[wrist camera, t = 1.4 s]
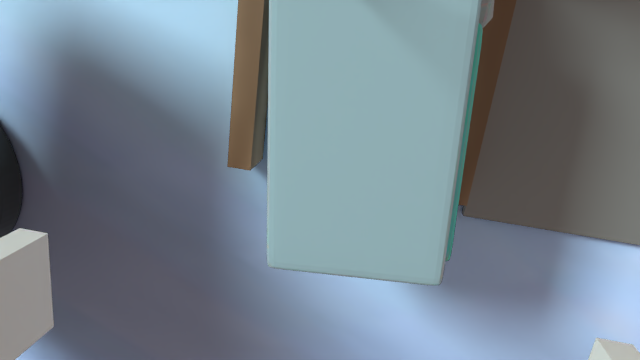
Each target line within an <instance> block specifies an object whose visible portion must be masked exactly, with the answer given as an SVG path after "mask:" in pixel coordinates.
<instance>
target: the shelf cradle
mask: <svg viewBox="0 0 640 360" xmlns="http://www.w3.org/2000/svg"><path fill="white" fill-rule="evenodd" d="M516 1H517V0H494V10H493V18H492V19H491V20H490V21H489V22H488V23H487V24H486V26H485V27H483V28H482V29H483V33H482V43H481V51H480V58H479V65H478V72H477V79H476V86H475V93H474V100H473V107H472V114H471V121H470V128H469V135H468V142H467V149H466V155H465V162H464V169H463V176H462V183H461V190H460V197H459V204H458V205H464V206H467V203H468V199H469V195H470V191H471V187H472V183H473V178H474V174H475V170H476V166H477V162H478V158H479V154H480V149H481V145H482V141H483V137H484V133H485V129H486V125H487V121H488V116H489V112H490V108H491V104H492V100H493V96H494V92H495V88H496V83H497V79H498V75H499V71H500V67H501V63H502V59H503V54H504V50H505V46H506V42H507V38H508V34H509V30H510V26H511V21H512V17H513V13H514V9H515V5H516ZM268 57H269V0H238V14H237V29H236V45H235V60H234V75H233V91H232V106H231V121H230V136H229V152H228V167H233V168H239V169H245V170H251V169H252V168H253V167H254V166H256V165H257V164H258V163H259V162H260V161H261V160H262V159H263V150H264V139H265V127H266V116H267V105H268Z"/></svg>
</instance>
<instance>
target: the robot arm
mask: <svg viewBox="0 0 640 360" xmlns="http://www.w3.org/2000/svg"><path fill="white" fill-rule="evenodd" d="M21 201H22V182H21V175H20V170H19V166H18V162H17V159H16V156H15V153H14V151H13V148H12V146H11V144H10V142H9V140H8V138H7V136H6V134H5V133H4V131H3V130H2V128H1V126H0V360H15V359H16V358H17V357H19V356H20V355H21V354H22V353H23V352H25V351H26V350H27V349H28V348H29V347H30V346H32V345H33V344H34V343H35V342H36V341H38V340H39V339H40V338H41V337H42V336H43V335H45V334H46V333H47V332H48V331H49V330H51V329H52V328H53V327H54V322H53V306H52V291H51V275H50V260H49V244H48V233H43V232H38V231H32V230H27V229H22V228H19V229H17V230H15V231H13V232H11V231H12V229H13V227H14V225H15V223H16V221H17V219H18V216H19V212H20V208H21ZM10 232H11V233H10ZM588 360H640V353H639V352H638V350H637V349H636V348H635V347H634V345H632V344H627V343H621V342H616V341H611V340H606V339H600V338H596V340H595V342H594V345H593V348H592V351H591V353H590V356H589V359H588Z"/></svg>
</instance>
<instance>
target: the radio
mask: <svg viewBox="0 0 640 360" xmlns="http://www.w3.org/2000/svg"><path fill="white" fill-rule="evenodd" d="M493 10H494V0H269V57H268V160H267V264H268V266H269V267H272V268H277V269H284V270H293V271H302V272H312V273H321V274H330V275H339V276H348V277H357V278H366V279H376V280H385V281H394V282H403V283H412V284H421V285H440V284H441V282H442V278H443V273H444V267H445V261H448V260H449V259H450V256H451V252H452V245H453V239H454V232H455V225H456V218H457V211H458V204H459V197H460V190H461V183H462V176H463V169H464V162H465V155H466V149H467V142H468V135H469V128H470V121H471V114H472V107H473V100H474V93H475V86H476V79H477V72H478V65H479V58H480V51H481V43H482V33H483V29H482V28H483V27H485V26H486V24H487V23H488V22H489V21H490V20H491V19H492V18H493Z"/></svg>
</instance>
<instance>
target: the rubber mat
mask: <svg viewBox="0 0 640 360" xmlns="http://www.w3.org/2000/svg"><path fill="white" fill-rule="evenodd" d="M462 214H463V216H468V217H474V218H480V219H486V220H492V221H498V222H504V223H510V224H516V225H522V226H528V227H534V228H540V229H546V230H552V231H558V232H564V233H570V234H576V235H582V236H588V237H594V238H600V239H606V240H612V241H618V242H624V243H630V244H636V245H640V0H517V1H516V5H515V9H514V13H513V17H512V21H511V26H510V30H509V34H508V38H507V42H506V46H505V50H504V54H503V59H502V63H501V67H500V71H499V75H498V79H497V83H496V88H495V92H494V96H493V100H492V104H491V108H490V112H489V116H488V121H487V125H486V129H485V133H484V137H483V141H482V145H481V149H480V154H479V158H478V162H477V166H476V170H475V174H474V178H473V183H472V187H471V191H470V195H469V199H468V203H467V206H463V210H462Z"/></svg>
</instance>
